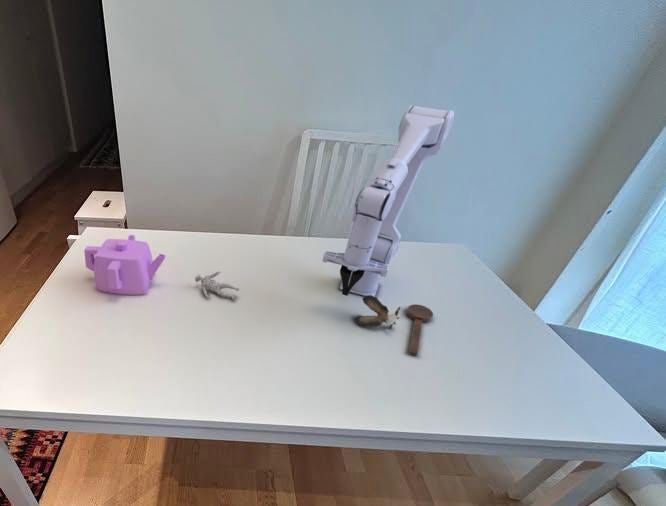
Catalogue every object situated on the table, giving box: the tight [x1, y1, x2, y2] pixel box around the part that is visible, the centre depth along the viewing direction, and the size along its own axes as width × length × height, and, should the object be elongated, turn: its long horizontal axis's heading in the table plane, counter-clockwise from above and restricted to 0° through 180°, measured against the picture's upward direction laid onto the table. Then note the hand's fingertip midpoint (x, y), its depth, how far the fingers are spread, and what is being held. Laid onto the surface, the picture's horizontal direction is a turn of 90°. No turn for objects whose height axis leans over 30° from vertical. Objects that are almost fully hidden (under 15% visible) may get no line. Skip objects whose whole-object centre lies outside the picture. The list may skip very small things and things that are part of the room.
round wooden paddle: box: [405, 303, 434, 357], centre depth 95 cm, size 20×6×1 cm, turn 153°
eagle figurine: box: [353, 295, 401, 330], centre depth 95 cm, size 8×7×9 cm
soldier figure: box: [194, 271, 240, 300], centre depth 104 cm, size 8×5×12 cm
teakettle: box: [83, 234, 167, 296], centre depth 104 cm, size 17×17×12 cm
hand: (345, 293), depth 96 cm, fingers closed
